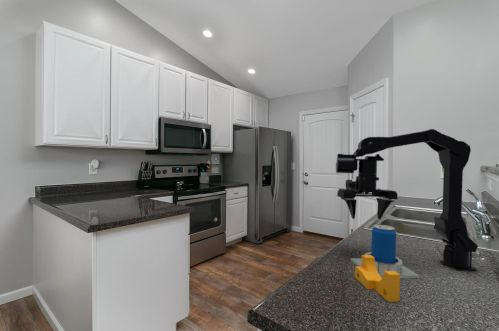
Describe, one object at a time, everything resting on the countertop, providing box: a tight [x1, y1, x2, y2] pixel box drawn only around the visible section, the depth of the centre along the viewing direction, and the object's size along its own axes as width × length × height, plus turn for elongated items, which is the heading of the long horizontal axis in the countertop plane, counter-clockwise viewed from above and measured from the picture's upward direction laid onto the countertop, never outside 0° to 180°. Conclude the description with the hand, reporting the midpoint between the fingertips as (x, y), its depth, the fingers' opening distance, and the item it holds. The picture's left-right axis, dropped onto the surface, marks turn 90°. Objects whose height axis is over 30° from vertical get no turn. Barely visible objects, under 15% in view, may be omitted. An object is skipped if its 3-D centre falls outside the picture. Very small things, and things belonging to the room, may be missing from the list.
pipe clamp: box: [354, 254, 401, 303], centre depth 61 cm, size 12×4×6 cm, turn 4°
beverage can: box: [370, 224, 397, 264], centre depth 73 cm, size 6×6×12 cm
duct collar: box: [350, 251, 421, 279], centre depth 73 cm, size 14×12×3 cm
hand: (366, 218), depth 83 cm, fingers open, 9 cm apart
